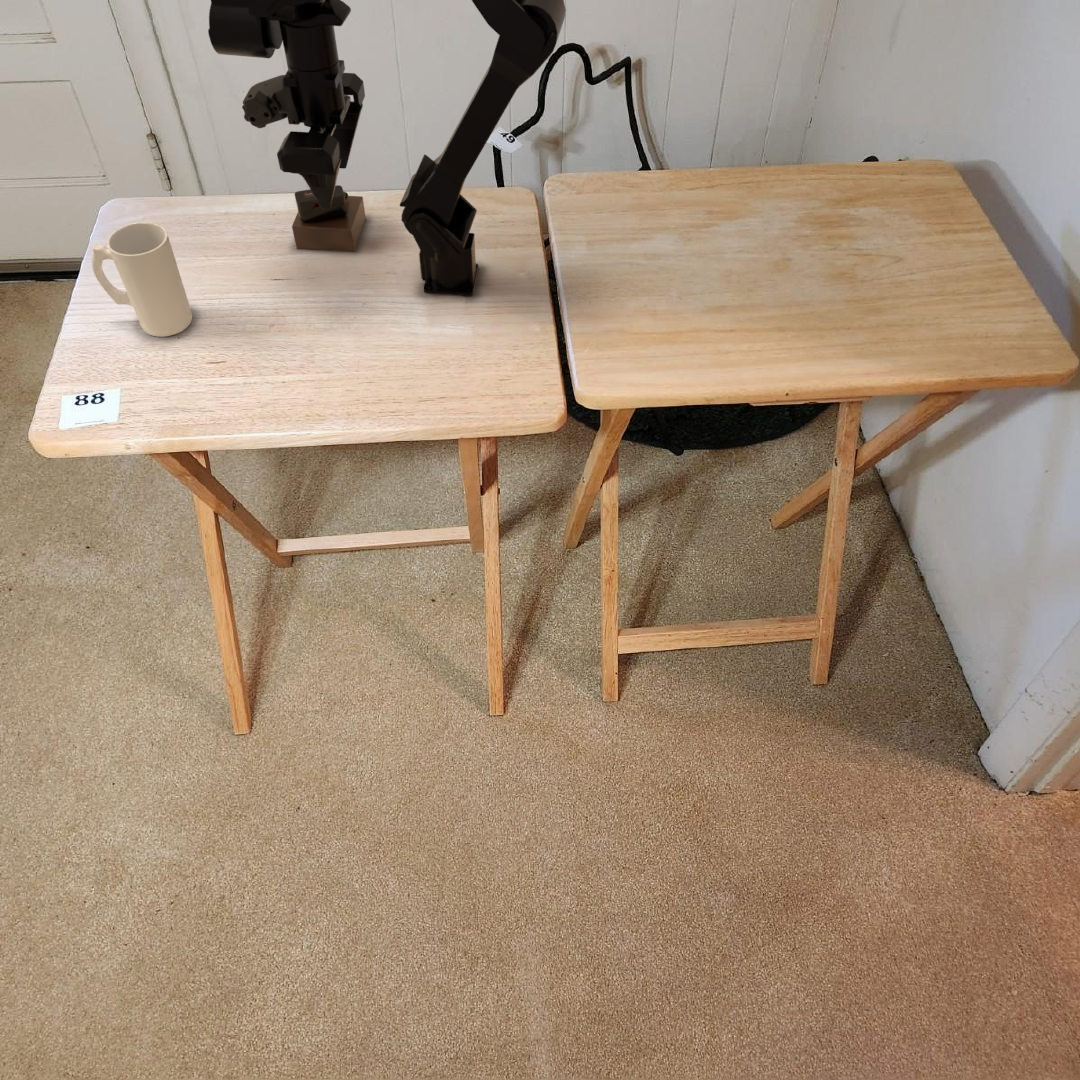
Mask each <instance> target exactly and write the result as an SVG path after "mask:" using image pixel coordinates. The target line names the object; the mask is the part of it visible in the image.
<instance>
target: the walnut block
mask: <svg viewBox="0 0 1080 1080" xmlns="http://www.w3.org/2000/svg"><path fill="white" fill-rule="evenodd" d="M345 202H346V208H347V214H346V215H345V216H342V217H336V218H330V219H323V220H317V221H311V222H302V221H301V220H300V217H299V213H298V212H297V213H296V215H295V218H294V220H293V223H292V225H291V228H292V233H293V238H294V244H295V247H296V249H297V250H298V249H301V250H316V251H317V250H318V251H332V252H334V251H336V252H349V253H350V252H351V253H354V252H355V251H356V249H357V245H358V243H359V240H360V237H361V234H362V232H363V228H364V226H365V222H366V218H367V217H366V210H365V203H364V197H363V196H361V195H360V196H358V195H348V198H347V199H346V201H345Z"/></svg>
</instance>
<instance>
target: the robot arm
mask: <svg viewBox="0 0 1080 1080" xmlns="http://www.w3.org/2000/svg"><path fill="white" fill-rule="evenodd" d="M471 2H472V3H473V5H474V7H475V8H476V9H477V10H478V12H479V14H480V15H481V17H482V18H483V19H484V21H485V23H486V24H487V25H488V26H489V27H490V28H491V29H492V30H493V31H494V32H495V33H496V34H497V35H498V38H497V42H496V45H495V49H494V51H493V55H492V58H491V62H490V64H489V66H488V68H487V70H486V72H485V73H484V76H483V77H482V79H481V81H480V83H479V84H478V86H477V88H476V90H475V92H474V94H473V96H472V97H471V99H470V101H469V103H468V104H467V106H466V109H465V111H463V114H462V116H461V117H460V119H459V121H458V124H457V125H456V127H455V129H454V131H453V132H452V135H451V136H450V138H449V140H448V142H447V144H446V146H445V148H444V149H443V151H442V153H441V154H439V156H438V157H436V158H435V159H434V160H433V159H432V158H431V157H430V156H429V155H427V154H424V155H423V156H422V158H421V161H420V163H419V165H418V168H417V170H416V172H415V173H414V174H413V175H412V176H411V178H410V181H409V182H408V184H407V187H406V189H405V190H404V191H405V192H404V194H403V196H402V198H401V200H400V203H399V207H401V208H403V210H402V213H401V222H402V223H403V225H404V227H405V229H406V230H407V231H408V233H409V234H410V235H411V236H412V237H413V238H414V241H415V242H416V244H417V246H418V249H419V254H418V259H419V267H420V268H419V269H420V278H421V280H422V281H424V283H423V284H424V285H423V288H422V289H423V292H424V293H425V294H433V295H447V296H449V295H450V296H465V297H466V296H468V297H470V296H472V295H474V291H475V288H476V282H477V277H478V273H479V264H478V263H476V259H477V258H476V242H475V241H476V239H475V233H474V232H470V231H471V230H472V226H473V224H474V220H475V217H476V215H477V212H478V210H477V208H475V207H474V205H472V204H471V202H469V201H468V200H467V199H466V198H465V197H464V196H463V195H462V194H461V193H462V190H463V188H464V185H465V182H466V179H467V177H468V176H469V174H470V171H471V170H472V169H473V167H474V166H475V165H474V164H475V163H476V161H477V159H478V158H479V156H480V155H481V152H482V151H483V149H484V148H485V146H486V144H487V142H488V141H489V138H490V137H491V135H492V134H493V132H494V130H495V128H496V127H497V125H498V123H499V121H500V120H501V118H502V116H503V115H504V113H505V111H506V110H507V108H508V106H509V104H510V102H511V101H512V99H513V97H514V96H515V93H516V92H517V91H518V89H519V88H520V87H521V86H522V85H523V84H525V83H526V82H527V81H528V80H530V78H532V77H533V76H534V75H535V74H536V72H537V71H538V70H539V69H540V68H541V67H542V66H543V64H544V63H546V61H547V60H548V59H549V58H550V56H551V55H552V54H553V52H554V50H555V48H556V45H557V42H558V40H559V36H560V33H561V30H562V28H563V24H564V21H565V18H566V12H567V9H566V5H565V0H471ZM208 11H209V13H208V26H209V27H208V30H207V33H208V37H209V41H210V44H211V46H212V48H213V50H214V51H215V52H216V53H217V54H218V55H225V56H235V57H237V56H238V57H249V58H257V59H271V58H272V57H273V56H274V54H275V51H276V50H279V49H281V47H282V45H283V50H284V56H285V62H286V66H287V71H286V73H285V74H280V75H276V76H275V77H272V78H269V79H266V80H263V81H259V82H257V83H255V84H253V85H252V86H251V87H250V88H249V89H248V91H247V93H246V95H245V97H244V98H243V100H242V106H241V109H242V110H243V112H244V115H243V118H244V120H245V121H246V122H249V123H250V124H251V126H253V127H255V128H257V129H263V128H265V127H266V126H267V125H269V124H272V123H276V122H279V121H283V120H284V119H286V118H287V121H288V125H297V126H299V125H300V124H303V126H304V127H307V128H309V130H308V131H294V130H293V131H292V130H290V131H289V133H288V134H287V135H286V136H285V137H284V138H283V141H282V142H281V144H280V147H279V148H278V151H277V152H276V156H277V161H278V166H279V170H280V171H282V172H283V173H290V174H298V175H299V176H300V177H302V178H303V180H304V181H305V183H306V184H307V187H309V190H310V189H311V191H312V193H313V195H314V196H315V198H316V200H317V202H318V204H319V205H320V207H321V208H322V209H330V207H331V204H332V199H333V195H334V190H335V186H336V185H337V180H338V176H339V172H340V169H347V167H348V163H349V160H350V155H351V151H352V148H353V144H354V141H355V140H354V139H355V136H356V132H357V129H358V126H359V121H360V117H361V113H362V110H363V107H364V103H363V102H364V100H365V98H366V92H365V84H364V80H363V79H362V78H360V77H359V76H358V74H357V73H355V72H345V70H346V66H345V60H343V59H340V58H339V53H338V52H339V51H338V45H337V39H336V31H335V27H341V26H343V24H344V23H345V22H346V20H347V18H348V17H349V16H350V13H351V12H352V9H351V6H350V5H348V4H347V3H345V2H344V1H343V0H210V6H209V10H208ZM351 96H352V98H353V99H352V98H351ZM351 99H352V100H353V101H352V100H351Z"/></svg>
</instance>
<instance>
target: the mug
mask: <svg viewBox="0 0 1080 1080" xmlns="http://www.w3.org/2000/svg"><path fill="white" fill-rule="evenodd" d="M106 246H107V247H106ZM173 250H174V249H173V247H172V243H171V241H170V238H169V235H168V231H167V229H166V228H165V227H163V226H162V225H160V224H159V223H154V222H150V221H149V222H147V221H140V222H139V221H138V222H134V223H128V224H126V225H123V226H121V227H119V228H117V229H116V230H114V231H113V232H111V234H110V235H109V236H108V238H107V240H106V245H103V244H93V246H92V258H91V268H92V271H93V274H94V277H95V278H96V281H97V282H98V283H99V285H100V287H101V288H102V289H103V291H105V292H106V294H107V295H108V297H110V298H111V299H112V300H113V302H114V303H115V304H116V305H126V306H129V307H132V308H133V310H134V313H135V315H136V317H137V320H138V322H139V324H140V327H141V329H142V330H143V331H144V332H145V333H146V334H148V335H150V336H153V337H160V338H161V337H162V338H163V337H170V336H174V335H177V334H179V333H181V332H183V331H185V330H186V329H187V328H189V326H190V325H191V323H192V321H193V314H192V310H191V305H190V303H189V299H188V296H187V293H186V290H185V287H184V284H183V280H182V277H181V274H180V270H179V266H178V264H177V261H176V257H175V254H174V251H173ZM106 260H111V261H113V263H114V265H115V267H116V270H117V272H118V274H119V277H120V279H121V281H122V284H123V286H124V289H125V291H124V290H120V289H119V288H117V287H116V286H114V284H112V282H110V280H109V279H108V277H107V276H106V275H105V272H104V270H103V262H104V261H106Z"/></svg>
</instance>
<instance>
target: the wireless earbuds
mask: <svg viewBox="0 0 1080 1080" xmlns="http://www.w3.org/2000/svg"><path fill="white" fill-rule="evenodd" d="M348 196H349V194H348V193H347V192H346V191H344V189H343V186H342V185H340V184H339V185H337V184H336V185H335V190H334V195H333V199H332V204H331V207H330V209H322V208H321V207H320V205H319V204H318V202H317V200H316V198H315V196H314V195H313V193H312V191H311V189H310V188H309V189H304V190H298V191H296V192H294V198H295V204H296V208H297V213H299V217H300V220H301V221H302V222H311V221H317V220H323V219H330V218H336V217H342V216H345V215H346V214H347V208H346V202H345V201H346V199H347V198H348Z"/></svg>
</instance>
